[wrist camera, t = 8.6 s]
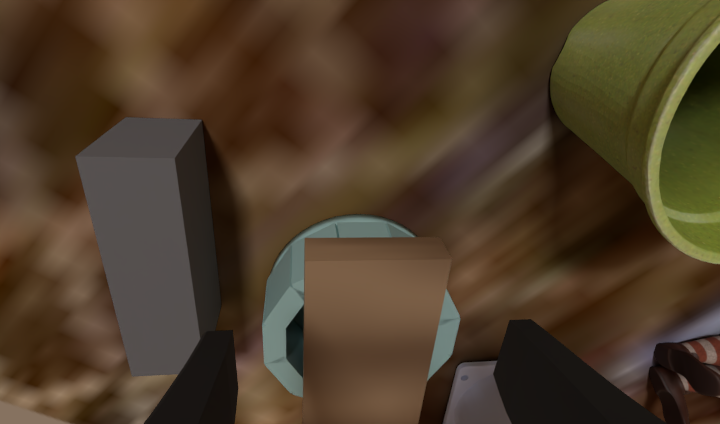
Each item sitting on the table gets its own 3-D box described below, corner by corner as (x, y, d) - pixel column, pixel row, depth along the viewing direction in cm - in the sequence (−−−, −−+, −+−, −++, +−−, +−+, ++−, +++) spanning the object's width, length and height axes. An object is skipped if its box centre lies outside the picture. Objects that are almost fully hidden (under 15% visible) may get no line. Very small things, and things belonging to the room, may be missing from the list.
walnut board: (407, 414, 22) (414, 442, 21) (302, 421, 22) (302, 451, 20) (439, 236, 17) (452, 259, 16) (304, 237, 17) (305, 261, 15)
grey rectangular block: (221, 304, 22) (205, 372, 19) (161, 306, 22) (132, 376, 18) (201, 119, 18) (174, 158, 14) (125, 117, 17) (75, 156, 13)
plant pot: (480, 27, 18) (618, 61, 10) (701, -108, 16) (1054, -187, 9) (545, 197, 22) (675, 310, 14) (724, 101, 21) (970, 170, 13)
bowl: (421, 344, 26) (441, 400, 22) (271, 350, 24) (266, 411, 21) (446, 214, 22) (474, 258, 18) (265, 213, 20) (259, 261, 17)
